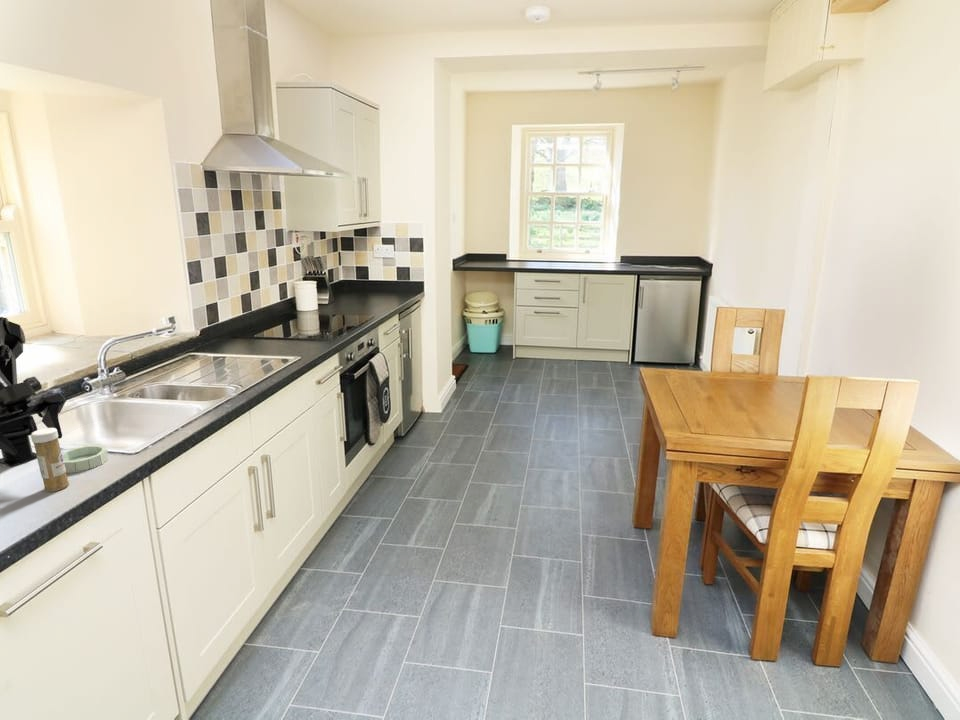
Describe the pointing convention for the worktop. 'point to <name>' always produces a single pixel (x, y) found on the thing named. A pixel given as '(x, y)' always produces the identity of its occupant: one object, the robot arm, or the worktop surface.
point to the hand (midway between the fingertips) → (38, 445)
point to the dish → (84, 457)
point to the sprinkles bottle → (50, 459)
